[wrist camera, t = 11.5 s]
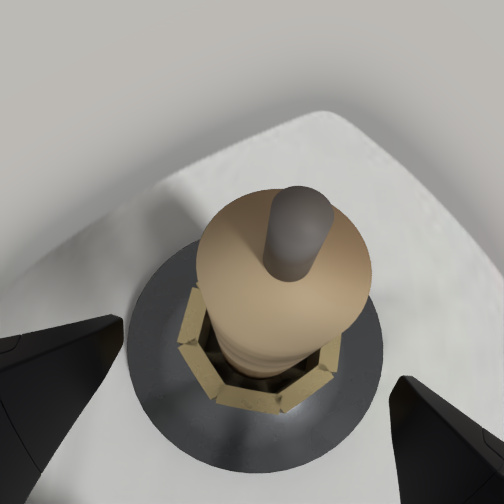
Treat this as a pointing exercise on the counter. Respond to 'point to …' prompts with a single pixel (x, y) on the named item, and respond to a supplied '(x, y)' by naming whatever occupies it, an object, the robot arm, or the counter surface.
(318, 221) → the driver handle
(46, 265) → the counter surface
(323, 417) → the dial plate
